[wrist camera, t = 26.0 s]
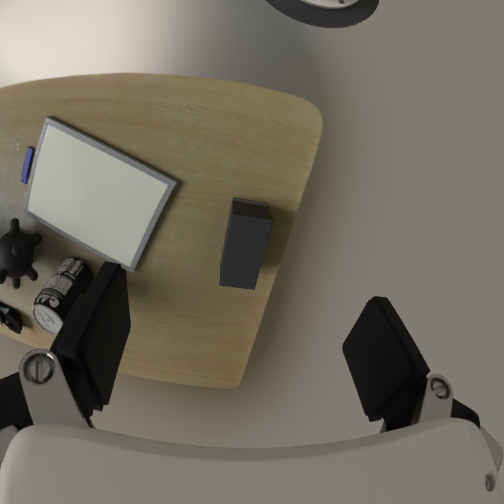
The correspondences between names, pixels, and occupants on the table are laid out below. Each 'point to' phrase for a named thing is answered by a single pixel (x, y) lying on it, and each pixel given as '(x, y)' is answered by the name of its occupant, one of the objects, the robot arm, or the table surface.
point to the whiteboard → (95, 194)
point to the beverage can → (61, 294)
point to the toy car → (10, 318)
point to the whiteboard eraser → (244, 243)
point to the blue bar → (27, 175)
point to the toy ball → (17, 255)
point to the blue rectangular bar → (27, 162)
